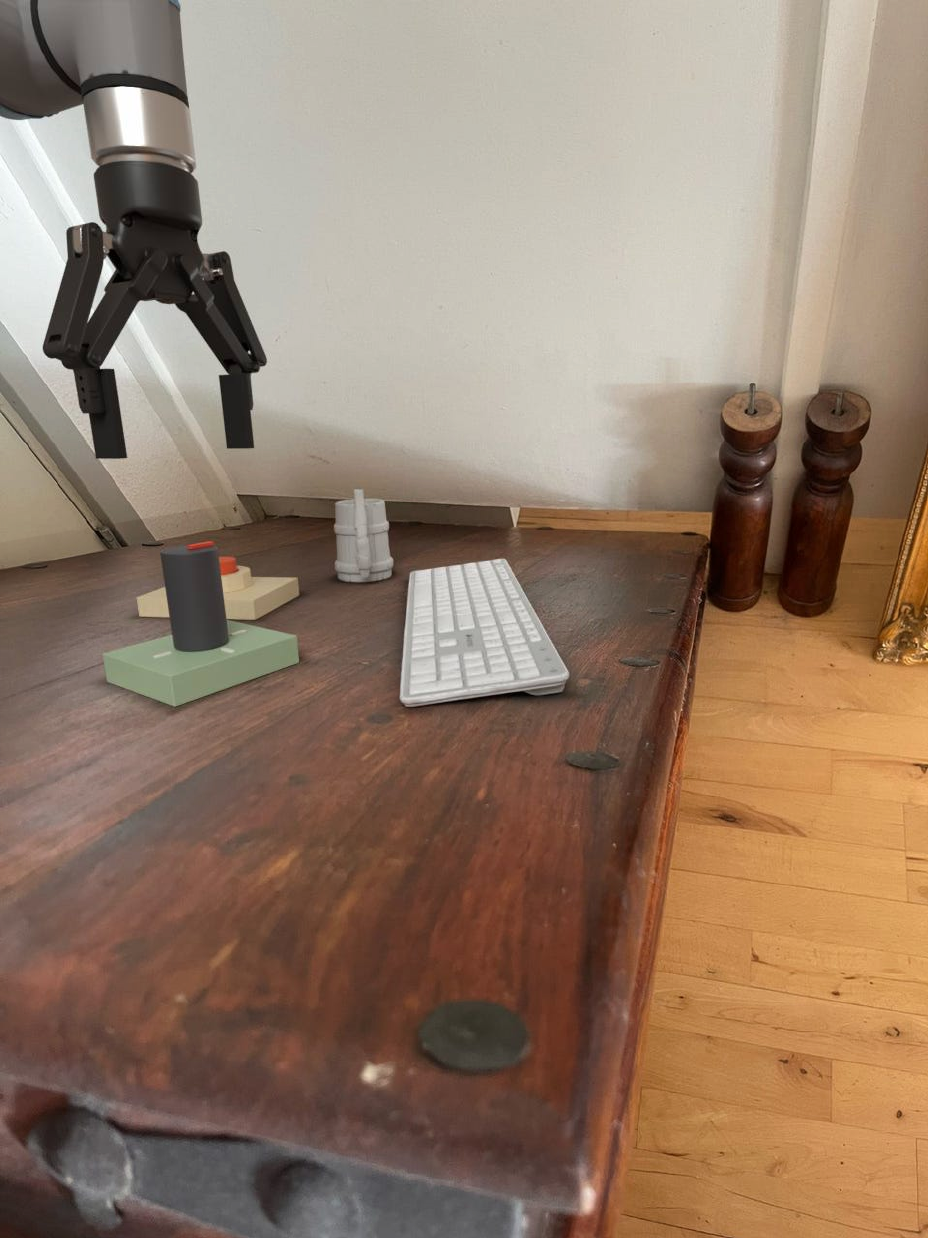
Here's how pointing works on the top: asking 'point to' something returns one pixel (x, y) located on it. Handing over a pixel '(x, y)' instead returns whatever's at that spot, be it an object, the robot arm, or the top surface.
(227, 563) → the switch
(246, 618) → the button base
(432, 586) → the keyboard
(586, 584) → the top surface
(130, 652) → the dial panel
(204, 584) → the dial
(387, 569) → the mug
